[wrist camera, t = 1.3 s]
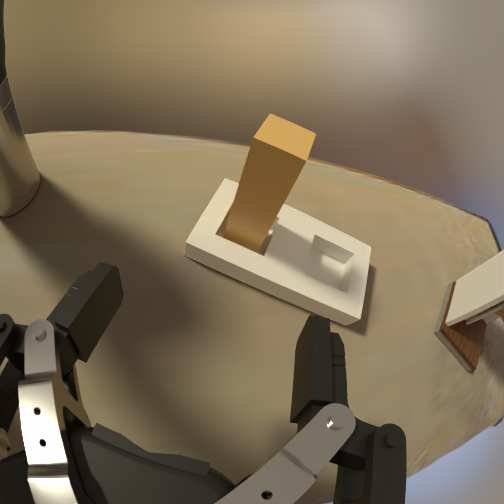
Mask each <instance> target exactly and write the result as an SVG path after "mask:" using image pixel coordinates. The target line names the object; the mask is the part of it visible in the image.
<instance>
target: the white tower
mask: <svg viewBox="0 0 504 504" xmlns="http://www.w3.org/2000/svg"><path fill="white" fill-rule="evenodd" d="M500 317H501V318H502V320H503V321H504V250H502V251H501V252H500V253H498V254H497V255H495V256H494V257H492V258H491V259H489V260H488V261H486V262H485V263H483V264H482V265H480V266H479V267H477V268H476V269H474V270H473V271H471V272H469V273H468V274H466V275H465V276H463V277H461V278H460V279H458V280H456V281H455V282H453V283H451V284H450V285H448V288H447V292H446V296H445V299H444V303H443V306H442V309H441V312H440V316H439V319H438V322H437V325H436V328H435V330H434V334H435V335H436V336H437V337H438V338H439V340H440V341H441V342H442V343H443V344H444V345H445V346H446V347H447V349H448V350H449V351H450V352H451V353H452V354H453V355H454V357H455V358H456V359H457V360H458V361H459V363H460V364H461V365H462V366H463V367H464V369H465V370H466V371H471V370H475V369H476V368H477V364H478V361H479V356H480V352H481V348H482V343H483V339H484V334H485V328H486V324H487V323H489V322H492V321H494V320H496V319H498V318H500Z"/></svg>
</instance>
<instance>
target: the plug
mask: <svg viewBox="0 0 504 504" xmlns="http://www.w3.org/2000/svg"><path fill="white" fill-rule="evenodd" d="M315 135H316V134H315V133H313V132H311V131H309V130H307V129H305V128H303V127H300V126H298V125H296V124H293V123H291V122H289V121H287V120H284V119H282V118H280V117H277V116H275V115H272V114H270V115H269V116H268V117H267V119H266V120H265V122H264V123H263V124H262V126H261V127H260V129H259V130H258V132H257V133H256V134H255V136H254V138H253V140H252V144H251V147H250V150H249V153H248V156H247V159H246V162H245V166H244V169H243V172H242V175H241V179H240V182H239V185H238V188H237V192H236V195H235V198H234V202H233V205H232V209H231V212H230V215H229V219H228V222H227V226H226V229H225V233H224V236H223V238H225V239H227V240H229V241H231V242H234V243H236V244H238V245H240V246H243V247H245V248H247V249H249V250H251V251H254V252H256V253H257V252H258V250H259V248H260V247H261V245H262V243H263V241H264V239H265V237H266V235H267V234H268V232H269V230H270V228H271V226H272V224H273V222H274V221H275V219H276V217H277V215H278V213H279V211H280V209H281V208H282V206H283V204H284V202H285V200H286V198H287V196H288V194H289V193H290V191H291V189H292V187H293V185H294V183H295V181H296V180H297V178H298V176H299V174H300V172H301V170H302V168H303V166H304V165H305V163H306V161H307V158H308V155H309V152H310V150H311V147H312V144H313V141H314V138H315Z"/></svg>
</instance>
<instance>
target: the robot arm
mask: <svg viewBox="0 0 504 504" xmlns="http://www.w3.org/2000/svg"><path fill="white" fill-rule="evenodd" d="M3 8H4V0H0V216H1V217H6V216H11V215H13V214H15V213H17V212H18V211H20V210H21V209H23V208H24V207H25V206H26V205H27V204H28V203H29V202H30V201H31V200H32V198H33V197H34V195H35V194H36V192H37V190H38V187H39V184H40V174H39V172H38V169H37V167H36V164H35V162H34V159H33V157H32V154H31V152H30V149H29V146H28V144H27V141H26V138H25V135H24V133H23V130H22V127H21V124H20V121H19V118H18V115H17V111H16V108H15V104H14V101H13V97H12V94H11V90H10V86H9V82H8V77H7V73H6V68H5V40H4V25H3ZM122 299H123V290H122V285H121V280H120V275H119V270H118V268H117V267H116V266H112V265H109V264H106V263H99V264H98V265H97V267H96V268H95V269H94V270H93V271H92V272H91V271H88V272H87V273H85V274H84V275H82V276H80V277H79V278H78V280H77V281H76V282H75V283H74V284H73V287H71V288H70V289H69V291H68V292H67V294H65V296H64V297H63V298H62V299H61V301H60V302H59V303H58V305H57V306H56V307H55V309H54V310H53V311H52V313H51V314H50V315H49V317H48V318H47V319H46V320H43V319H41V320H37V321H34V322H33V323H31V324H30V325H29V326H27V325H20V324H15V323H14V321H13V319H12V318H11V316H9V315H8V314H0V366H1V364H2V362H3V360H4V358H5V357H7V358H8V362H7V364H6V366H5V368H4V369H3V371H2V373H1V375H0V504H293V503H294V502H295V501H297V500H298V499H299V498H300V497H301V496H302V495H303V494H304V493H305V492H306V491H307V490H308V489H309V488H310V487H311V486H312V484H313V483H314V482H315V480H316V478H317V477H316V476H317V474H318V473H319V472H320V471H321V470H322V469H323V467H324V466H325V465H326V464H327V463H328V462H331V463H334V464H337V465H338V472H337V480H336V488H335V495H334V501H333V504H405V492H406V437H405V434H404V432H403V430H402V429H401V428H400V427H399V426H397V425H395V424H384V425H382V426H381V427H377V426H374V425H371V424H368V423H366V422H363V421H361V420H359V419H357V418H356V417H355V416H354V414H353V412H352V411H351V410H350V409H349V406H348V401H347V380H346V368H345V366H346V364H345V351H344V344H343V342H342V340H341V338H340V336H339V334H338V333H333V332H330V321H329V318H325V317H319V316H314V315H310V316H309V317H308V319H307V321H306V323H305V326H304V328H303V330H302V332H301V334H300V336H299V338H298V341H297V345H296V350H295V365H294V379H293V392H292V404H291V415H290V423H298V427H297V432H296V433H295V434H294V435H293V436H292V437H291V438H290V439H289V440H288V441H287V442H286V443H285V444H284V445H283V446H282V447H280V448H279V449H278V450H277V451H276V452H275V453H274V454H273V455H272V456H270V457H269V458H268V459H267V460H266V461H265V462H263V463H262V464H261V465H260V466H258V467H257V468H256V469H255V470H253V471H252V472H251V473H250V474H248V475H247V476H246V477H245V478H243V479H242V480H241V481H239V482H238V483H237V484H235V485H234V484H233V483H232V482H231V481H230V480H229V479H228V478H227V477H226V476H224V475H223V474H222V473H220V472H219V471H217V470H215V469H213V468H211V467H209V465H210V463H208V462H204V461H200V460H196V459H192V458H188V457H185V456H181V455H171V454H160V453H150V452H147V451H145V450H143V449H142V448H140V447H139V446H137V445H136V444H134V443H133V442H131V441H130V440H129V439H127V438H126V437H124V436H123V435H122V434H119V433H117V432H115V431H113V430H110V429H108V428H106V427H104V426H102V425H100V424H98V423H96V425H95V427H91V424H90V420H89V418H88V415H87V413H86V411H85V409H84V407H83V404H82V400H81V394H80V389H79V384H78V378H77V371H76V366H75V362H76V361H77V359H80V360H82V361H84V362H87V360H88V358H89V357H90V355H91V353H92V351H93V350H94V348H95V346H96V345H97V343H98V341H99V339H100V338H101V336H102V334H103V333H104V331H105V329H106V328H107V326H108V324H109V323H110V321H111V320H112V318H113V316H114V315H115V313H116V312H117V310H118V308H119V307H120V305H121V303H122ZM18 406H19V407H20V417H21V425H22V432H23V438H24V444H25V450H23V451H21V452H18V453H16V454H13V455H11V456H9V457H8V456H7V451H9V450H10V449H11V443H10V441H9V440H8V437H7V432H8V430H9V427H10V425H11V422H12V420H13V417H14V415H15V413H16V410H17V408H18Z"/></svg>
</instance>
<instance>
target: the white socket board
mask: <svg viewBox="0 0 504 504" xmlns="http://www.w3.org/2000/svg"><path fill="white" fill-rule="evenodd" d="M238 185H239V184H238V183H236V182H233V181H231V180H229V179H226V178H225V179H224V181H223V182H222V184H221V185H220V187H219V189H218V190H217V192H216V193H215V195H214V196H213V198H212V200H211V201H210V203H209V204H208V206H207V208H206V209H205V211H204V213H203V214H202V216H201V217H200V219H199V221H198V222H197V224H196V226H195V227H194V229H193V231H192V232H191V234H190V236H189V237H188V239H187V241H186V247H185V256H187V257H189V258H191V259H193V260H195V261H197V262H199V263H202V264H204V265H206V266H208V267H210V268H212V269H215V270H217V271H219V272H221V273H223V274H226V275H228V276H230V277H232V278H235V279H237V280H239V281H241V282H243V283H246V284H248V285H250V286H252V287H255V288H257V289H259V290H262V291H264V292H266V293H268V294H271V295H273V296H275V297H278V298H280V299H282V300H285V301H287V302H289V303H292V304H294V305H296V306H299V307H301V308H303V309H306V310H308V311H311V312H313V313H315V314H318V315H320V316H323V317H325V318H329V319H330V320H332V321H335V322H337V323H340V324H342V325H345V326H347V325H349V324H352V323H354V322H356V321H358V320H360V318H361V313H362V307H363V302H364V295H365V289H366V282H367V275H368V268H369V260H370V251H371V247H370V246H368V245H366V244H364V243H362V242H360V241H358V240H356V239H355V238H353V237H351V236H349V235H347V234H345V233H343V232H341V231H339V230H337V229H335V228H333V227H331V226H329V225H327V224H325V223H323V222H321V221H319V220H317V219H315V218H313V217H311V216H308V215H306V214H304V213H302V212H300V211H298V210H296V209H294V208H292V207H289V206H287V205H285V204H283V206H282V208H281V209H280V211H279V213H278V215H277V217H276V219H275V221H274V222H273V224H272V226H271V228H270V230H269V232H268V234H267V235H266V237H265V239H264V241H263V243H262V245H261V247H260V248H259V250H258V252H257V253H256V252H254V251H251V250H249V249H247V248H245V247H243V246H240V245H238V244H236V243H234V242H231V241H229V240H227V239H225V238H223V236H224V233H225V229H226V226H227V222H228V219H229V215H230V212H231V209H232V205H233V202H234V198H235V195H236V192H237V188H238Z"/></svg>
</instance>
